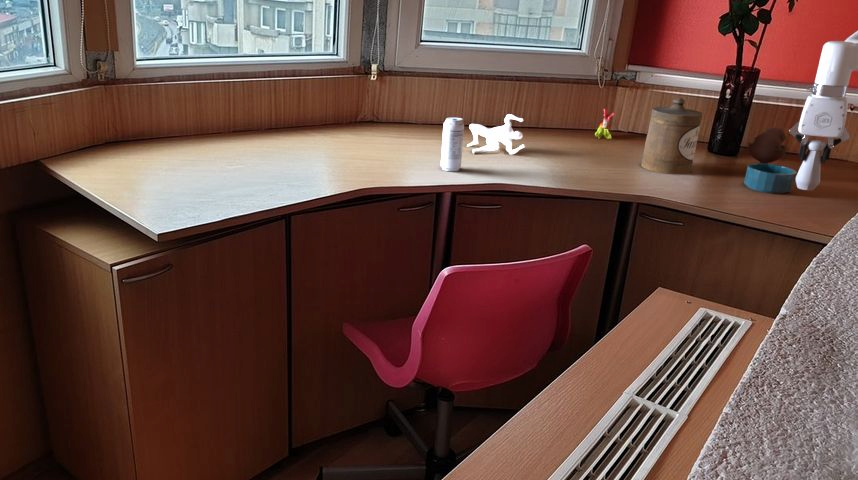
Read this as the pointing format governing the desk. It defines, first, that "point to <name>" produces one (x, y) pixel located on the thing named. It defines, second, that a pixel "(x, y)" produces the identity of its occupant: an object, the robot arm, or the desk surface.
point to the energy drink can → (452, 144)
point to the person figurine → (497, 136)
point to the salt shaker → (811, 166)
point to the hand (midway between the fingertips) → (812, 160)
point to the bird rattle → (604, 126)
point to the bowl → (770, 178)
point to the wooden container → (671, 139)
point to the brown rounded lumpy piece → (768, 145)
